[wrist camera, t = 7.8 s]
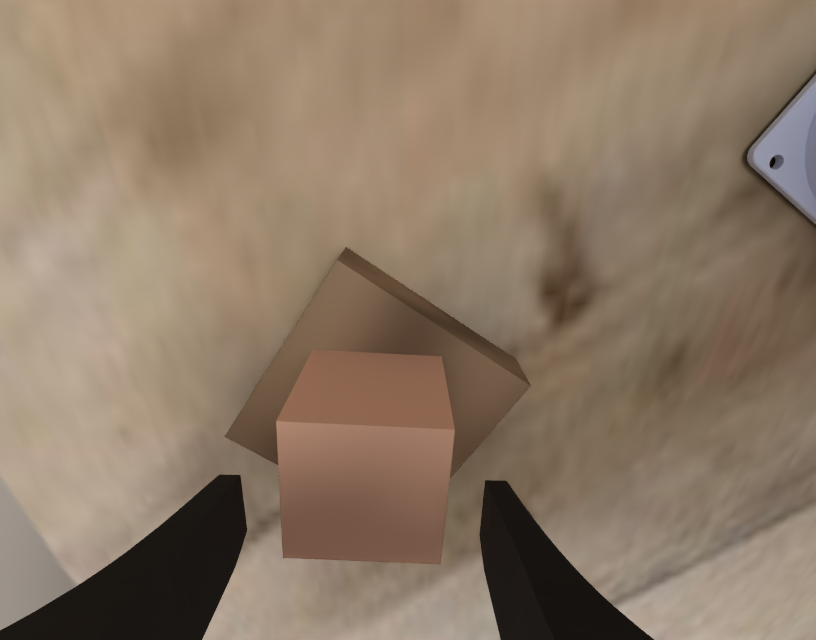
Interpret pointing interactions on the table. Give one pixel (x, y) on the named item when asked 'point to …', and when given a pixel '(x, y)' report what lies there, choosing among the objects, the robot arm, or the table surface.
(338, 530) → the terracotta cube
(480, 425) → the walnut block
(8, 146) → the table surface
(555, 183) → the table surface
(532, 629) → the robot arm
